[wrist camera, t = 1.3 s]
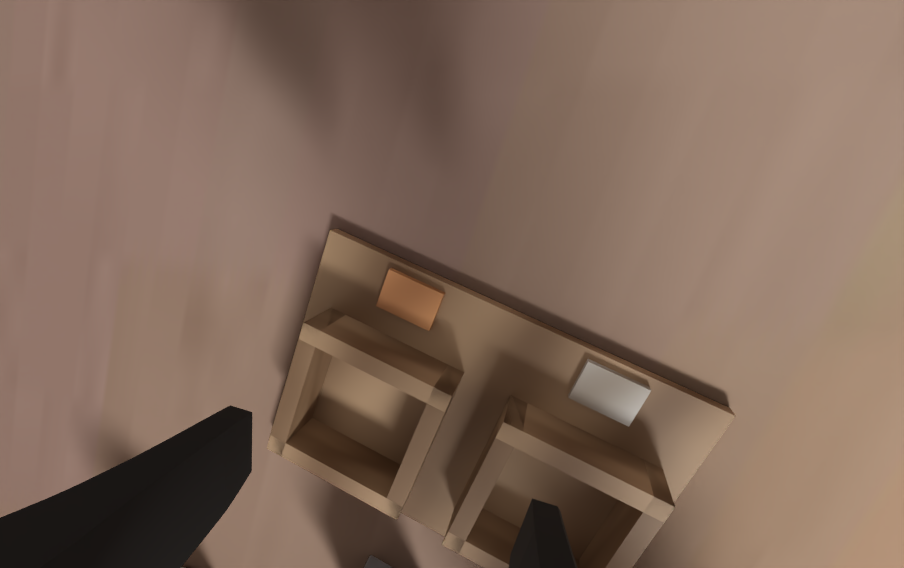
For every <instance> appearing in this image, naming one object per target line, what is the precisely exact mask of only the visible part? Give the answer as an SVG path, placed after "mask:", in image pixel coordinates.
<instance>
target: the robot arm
mask: <svg viewBox="0 0 904 568" xmlns="http://www.w3.org/2000/svg"><path fill="white" fill-rule="evenodd" d="M251 471H252V412H250V411H246V410H243V409H240V408H237V407H233V406H228V407H227V408H225V409H223V410H221V411H219V412H217V413H215V414H213V415H212V416H210V417H208V418H206V419H204V420H202V421H201V422H199V423H197V424H195V425H193V426H192V427H190V428H188V429H186V430H184V431H182V432H181V433H179V434H177V435H175V436H173V437H171V438H170V439H168V440H166V441H164V442H162V443H160V444H158V445H156V446H154V447H153V448H151V449H149V450H147V451H145V452H143V453H141V454H139V455H137V456H136V457H134V458H132V459H130V460H128V461H126V462H124V463H122V464H120V465H118V466H116V467H113V468H111V469H109V470H107V471H105V472H103V473H101V474H99V475H97V476H95V477H93V478H91V479H89V480H87V481H85V482H83V483H81V484H79V485H76V486H74V487H72V488H70V489H68V490H65V491H63V492H61V493H59V494H56V495H54V496H52V497H49V498H47V499H45V500H42V501H40V502H38V503H35V504H33V505H30V506H28V507H26V508H23V509H21V510H18V511H16V512H13V513H11V514H8V515H6V516H3V517H1V518H0V568H181V567H182V565H183V564H184V563H185V562H186V560H187V559H188V558H189V557H190V555H191V554H192V553H193V552H194V550H195V549H196V548H197V547H198V546H199V544H200V543H201V542H202V541H203V539H204V538H205V537H206V536H207V534H208V533H209V532H210V530H211V529H212V528H213V527H214V525H215V524H216V523H217V522H218V520H219V519H220V518H221V517H222V515H223V514H224V513H225V511H226V510H227V509H228V507H229V506H230V504H231V503H232V501H233V500H234V498H235V497H236V495H237V493H238V492H239V490H240V489H241V487H242V485H243V484H244V482H245V481H246V479H247V477H248V476H249V474H250V473H251ZM509 568H577V565H576V561H575V558H574V555H573V552H572V549H571V546H570V543H569V539H568V536H567V533H566V529H565V525H564V522H563V518H562V514H561V511H560V509H559V508H558V506H555V505H552V504H549V503H545V502H542V501H539V500H536V499H532V500H531V503H530V505H529V508H528V510H527V513H526V515H525V518H524V521H523V523H522V526H521V528H520V531H519V533H518V536H517V539H516V541H515V544H514V546H513V549H512V551H511V554H510V561H509Z"/></svg>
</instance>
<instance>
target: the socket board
mask: <svg viewBox="0 0 904 568" xmlns="http://www.w3.org/2000/svg"><path fill="white" fill-rule="evenodd" d="M734 417H735V414H734V413H733V412H732V410H731V409H730V408H729V407H726V406H724V405H722V404H720V403H718V402H716V401H713V400H711V399H709V398H707V397H705V396H702V395H700V394H698V393H696V392H694V391H691V390H689V389H687V388H685V387H683V386H680V385H678V384H676V383H674V382H672V381H670V380H667V379H665V378H663V377H661V376H659V375H656V374H654V373H652V372H650V371H648V370H645V369H643V368H641V367H639V366H637V365H635V364H632V363H630V362H628V361H626V360H624V359H621V358H619V357H617V356H615V355H613V354H610V353H608V352H606V351H604V350H602V349H599V348H597V347H595V346H593V345H591V344H589V343H586V342H584V341H582V340H580V339H578V338H575V337H573V336H571V335H569V334H567V333H564V332H562V331H560V330H558V329H556V328H553V327H551V326H549V325H547V324H545V323H543V322H540V321H538V320H536V319H534V318H532V317H529V316H527V315H525V314H523V313H521V312H518V311H516V310H514V309H512V308H510V307H508V306H505V305H503V304H501V303H499V302H497V301H494V300H492V299H490V298H488V297H486V296H483V295H481V294H479V293H477V292H475V291H472V290H470V289H468V288H466V287H464V286H462V285H459V284H457V283H455V282H453V281H451V280H448V279H446V278H444V277H442V276H440V275H437V274H435V273H433V272H431V271H429V270H426V269H424V268H422V267H420V266H418V265H416V264H413V263H411V262H409V261H407V260H405V259H402V258H400V257H398V256H396V255H394V254H391V253H389V252H387V251H385V250H383V249H381V248H378V247H376V246H374V245H372V244H370V243H367V242H365V241H363V240H361V239H359V238H356V237H354V236H352V235H350V234H348V233H345V232H343V231H341V230H339V229H333V230H330V232H329V235H328V239H327V242H326V246H325V249H324V252H323V256H322V259H321V263H320V266H319V269H318V273H317V276H316V280H315V283H314V287H313V290H312V293H311V297H310V300H309V304H308V307H307V310H306V314H305V317H304V321H303V324H302V328H301V331H300V334H299V338H298V341H297V345H296V348H295V351H294V355H293V358H292V362H291V365H290V369H289V372H288V375H287V379H286V382H285V386H284V389H283V392H282V396H281V399H280V403H279V406H278V410H277V413H276V416H275V420H274V423H273V427H272V430H271V433H270V437H269V442H268V446H267V449H269V450H270V451H272V452H274V453H276V454H278V455H279V456H281V457H283V458H285V459H287V460H289V461H290V462H292V463H294V464H296V465H298V466H299V467H301V468H303V469H305V470H307V471H309V472H310V473H312V474H314V475H316V476H318V477H319V478H321V479H323V480H325V481H327V482H329V483H330V484H332V485H334V486H336V487H338V488H339V489H341V490H343V491H345V492H347V493H349V494H350V495H352V496H354V497H356V498H358V499H359V500H361V501H363V502H365V503H367V504H369V505H370V506H372V507H374V508H376V509H378V510H379V511H381V512H383V513H385V514H387V515H388V516H390V517H392V518H394V519H396V520H397V519H398V517H399V515H400V513H402V514H404V515H406V516H408V517H409V518H411V519H413V520H415V521H417V522H419V523H420V524H422V525H424V526H426V527H428V528H430V529H431V530H433V531H435V532H437V533H439V534H441V535H442V536H444V540H443V543H442V545H443V546H445V547H447V548H448V549H450V550H452V551H454V552H456V553H458V554H459V555H461V556H463V557H465V558H467V559H468V560H470V561H472V562H474V563H476V564H478V565H479V566H481V567H483V568H509V561H510V554H511V551H512V549H513V546H514V544H515V541H516V539H517V536H518V533H519V531H520V528H521V526H522V523H523V521H524V518H525V515H526V513H527V510H528V508H529V505H530V503H531V500H532V499H536V500H539V501H542V502H545V503H549V504H552V505H555V506H558V508H559V509H560V511H561V514H562V518H563V522H564V525H565V529H566V533H567V536H568V539H569V543H570V546H571V549H572V552H573V555H574V558H575V561H576V565H577V568H632V567H633V566H634V564H635V563H636V562H637V560H638V559H639V557H640V556H641V555H642V553H643V552H644V550H645V549H646V547H647V546H648V545H649V543H650V542H651V540H652V539H653V538H654V536H655V535H656V533H657V532H658V531H659V529H660V528H661V526H662V525H663V524H664V522H665V521H666V519H667V518H668V517H669V515H670V514H671V512H672V511H673V510H674V508H675V505H674V502H675V501H676V499H677V498H678V496H679V495H680V494H681V492H682V491H683V489H684V488H685V487H686V485H687V484H688V482H689V481H690V480H691V478H692V477H693V475H694V474H695V472H696V471H697V470H698V468H699V467H700V465H701V464H702V463H703V461H704V460H705V458H706V457H707V456H708V454H709V453H710V451H711V450H712V449H713V447H714V446H715V444H716V443H717V441H718V440H719V439H720V437H721V436H722V434H723V433H724V432H725V430H726V429H727V427H728V426H729V425H730V423H731V422H732V420H733V419H734Z"/></svg>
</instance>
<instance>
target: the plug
mask: <svg viewBox="0 0 904 568" xmlns="http://www.w3.org/2000/svg"><path fill="white" fill-rule="evenodd" d="M364 568H393V567H391V566H389V565H388V564H386V563H384V562H382V561H381V560H379V559H377V558H375V557H374V556H372V555H370V557H369V559H368V561H367V562H366V564H365V566H364Z"/></svg>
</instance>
